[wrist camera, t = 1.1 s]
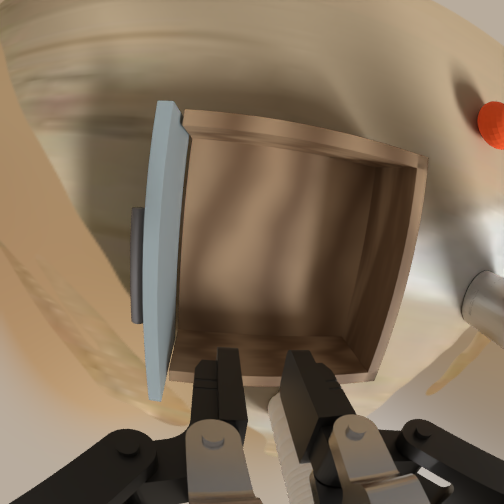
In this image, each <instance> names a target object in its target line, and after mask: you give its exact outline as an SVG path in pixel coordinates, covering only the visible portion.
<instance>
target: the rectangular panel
mask: <svg viewBox="0 0 504 504" xmlns="http://www.w3.org/2000/svg"><path fill="white" fill-rule="evenodd" d="M183 118H184V117H183V115H182V114H181V112H180V110H179V109H178V107H177V106H176V104H175V102H174V101H157V107H156V113H155V120H154V127H153V134H152V141H151V149H150V158H149V167H148V177H147V188H146V201H145V208H142V207H134V208H132V216H131V242H130V292H131V318H132V322H133V323H135V324H141V323H143V325H144V346H145V362H146V374H147V385H148V395H149V400H153V401H160V402H161V400H162V395H163V390H164V385H165V381H166V375H167V371H168V367H169V362H170V358H171V354H172V349H173V345H174V341H175V313H176V281H177V260H178V243H179V229H180V216H181V204H182V193H183V183H184V174H185V165H186V156H187V148H188V140H189V133H188V132H187V131H186V129H185V128H184V127H183Z"/></svg>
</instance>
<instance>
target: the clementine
mask: <svg viewBox="0 0 504 504" xmlns="http://www.w3.org/2000/svg"><path fill="white" fill-rule="evenodd" d="M478 128H479V131H480V133H481V135H482V137H483V139H484V140H485V141H486V142H487V143H488V144H489V145H491V146H492V147H494V148H496V149H501V150H502V149H504V104H503V103H501V102H493V101H492V102H489V103H487V104H485V105H484V106H483V107H482V108H481V109H480V111H479V114H478Z"/></svg>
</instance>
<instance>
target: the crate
mask: <svg viewBox="0 0 504 504" xmlns="http://www.w3.org/2000/svg"><path fill="white" fill-rule="evenodd" d="M183 127H184V128H185V129H186V131H187V132H188V133H189V135H190V136H191V137H192V145H191V153H190V161H189V170H188V179H187V188H186V199H185V210H184V222H183V235H182V249H181V266H180V287H179V319H178V332H177V337H176V341H175V345H174V351H173V354H172V359H171V363H170V368H169V380H170V381H177V382H187V383H194V372H195V367H196V366H197V365H198V364H199V362H200V361H201V360H202V359H203V360H216V357H217V347H230V348H238V349H239V357H240V365H241V373H242V380H243V386H261V387H280V382H281V377H282V373H283V368H284V364H285V359H286V355H287V352H288V350H310V352H311V354H312V356H313V358H314V360H315V362H316V363H323V364H325V365H326V366H327V367H328V368H329V369H331V370H332V372H333V373H334V375H335V377H336V379H337V382H339V384H347V383H358V382H368V381H374V380H375V377H376V375H377V372H378V370H379V367H380V365H381V362H382V359H383V357H384V354H385V351H386V348H387V346H388V343H389V340H390V337H391V334H392V331H393V328H394V325H395V322H396V318H397V315H398V312H399V309H400V305H401V302H402V298H403V295H404V291H405V287H406V284H407V280H408V276H409V272H410V268H411V263H412V259H413V255H414V250H415V245H416V241H417V236H418V230H419V225H420V219H421V213H422V207H423V201H424V194H425V186H426V178H427V169H428V159H429V158H428V157H425V156H422V155H419V154H416V153H413V152H410V151H407V150H404V149H401V148H397V147H394V146H391V145H387V144H384V143H381V142H377V141H374V140H370V139H366V138H363V137H359V136H355V135H351V134H347V133H343V132H338V131H334V130H330V129H325V128H321V127H316V126H311V125H306V124H301V123H295V122H290V121H284V120H278V119H272V118H265V117H258V116H251V115H243V114H235V113H226V112H216V111H204V110H191V109H185V112H184V118H183Z"/></svg>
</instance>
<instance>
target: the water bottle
mask: <svg viewBox="0 0 504 504" xmlns="http://www.w3.org/2000/svg"><path fill="white" fill-rule="evenodd" d="M268 413H269V418H270V421H271V427H272V431H273V434H274V440H275V443H276V444H277V445H276V448H277V452H278V456H279V461H280V465H281V469H282V475H283V478H284V481H285V485H286V488H287V493H288V498H289V502H290V504H314V501H313V496H312V491H311V486H310V481H309V476H310V473H311V471H312V469H313V468H312V465H311V463H304V464H299V460H298V457H297V453H296V450H295V447H294V443H293V440H292V436H291V433H290V429H289V426H288V422H287V419H286V415H285V412H284V408H283V405H282V401H281V398H280V392H278V393H277V394H276V395H275V396H273V397H272V398H271V400H270V401H269V404H268Z"/></svg>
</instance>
